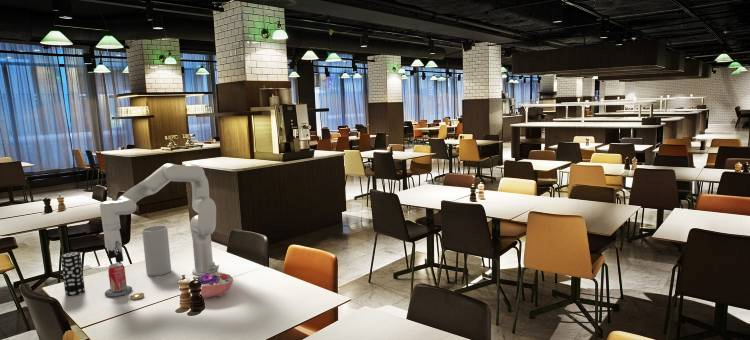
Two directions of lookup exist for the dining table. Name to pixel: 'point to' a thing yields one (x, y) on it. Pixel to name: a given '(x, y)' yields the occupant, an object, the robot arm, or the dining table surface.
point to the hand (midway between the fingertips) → (116, 259)
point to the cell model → (215, 284)
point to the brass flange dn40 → (137, 296)
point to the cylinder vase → (156, 250)
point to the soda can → (117, 277)
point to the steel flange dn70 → (118, 294)
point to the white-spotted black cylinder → (72, 273)
